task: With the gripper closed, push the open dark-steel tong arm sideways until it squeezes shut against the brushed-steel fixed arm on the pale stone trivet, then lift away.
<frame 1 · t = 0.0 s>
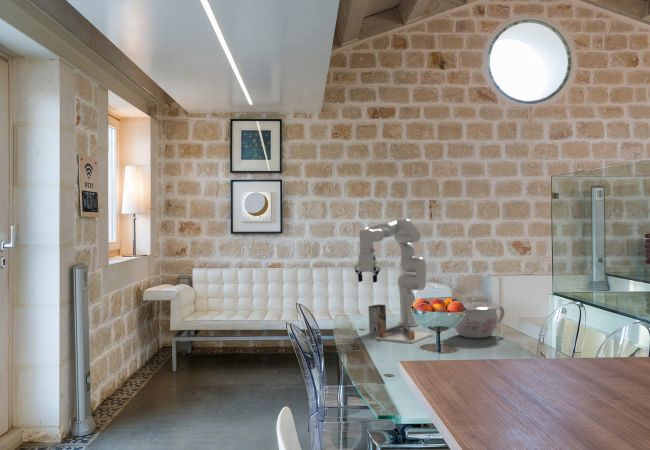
hand: (367, 281, 304), 31 cm above the table, fingers open, 9 cm apart
trivet: (404, 337, 302), on the table
tong base: (400, 333, 314), resting on trivet
chamber pot: (475, 336, 299), on the table
coffee box: (378, 333, 317), on the table
tong arm: (408, 331, 300), point 3 cm above the table, hinge at 40.0°
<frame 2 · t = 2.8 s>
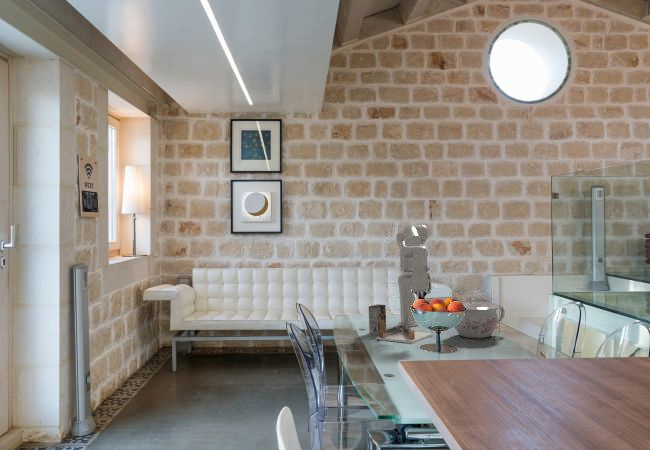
hand: (421, 304, 288), 20 cm above the table, fingers closed
nothing on the table moved.
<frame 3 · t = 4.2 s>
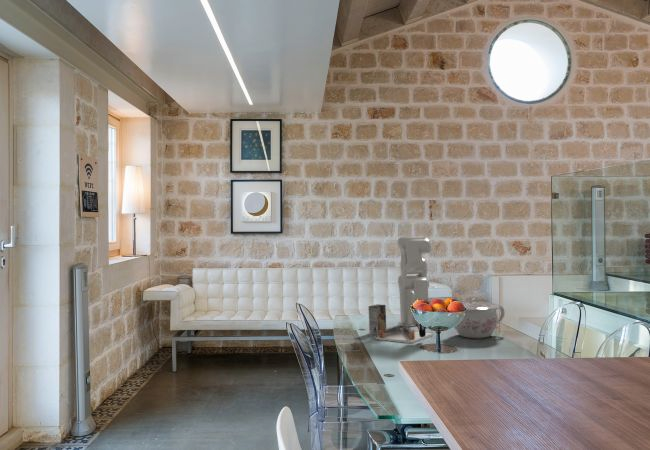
hand: (422, 336, 288), 3 cm above the table, fingers closed
nothing on the table moved.
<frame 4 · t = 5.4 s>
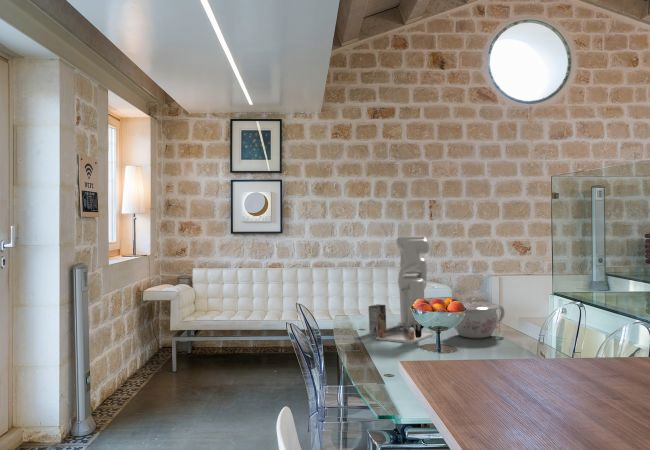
hand: (418, 337, 290), 2 cm above the table, fingers closed
tong arm: (408, 331, 300), point 3 cm above the table, hinge at 39.6°, touching gripper
everything else where it was.
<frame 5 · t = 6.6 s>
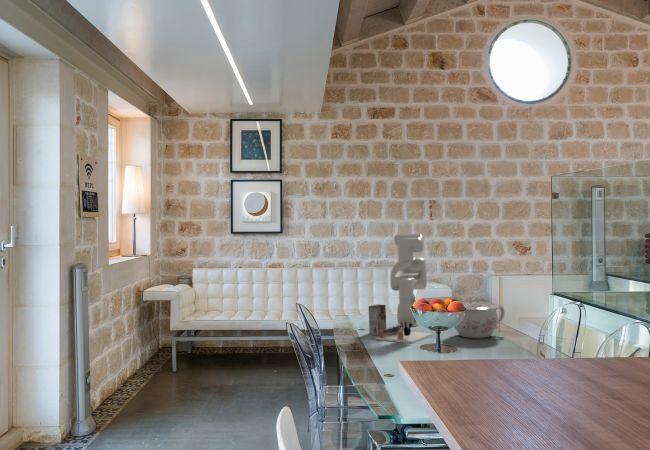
hand: (407, 335, 293), 3 cm above the table, fingers closed
tong arm: (402, 331, 301), point 3 cm above the table, hinge at 23.0°, touching gripper
everything else where it was.
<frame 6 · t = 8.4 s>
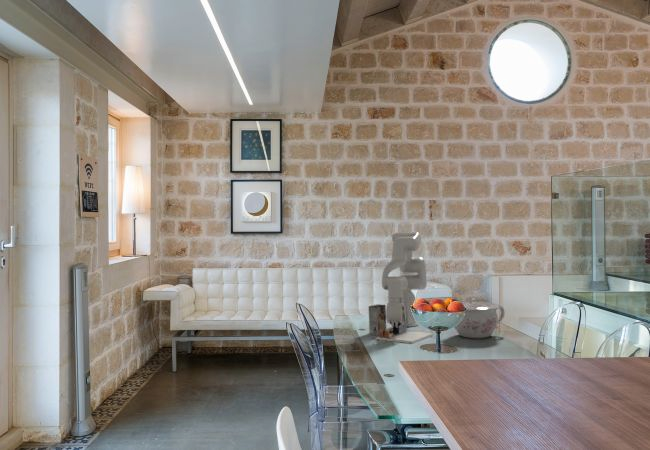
hand: (396, 334, 297), 3 cm above the table, fingers closed
tong arm: (395, 331, 302), point 3 cm above the table, hinge at 2.0°, touching gripper
everything else where it was.
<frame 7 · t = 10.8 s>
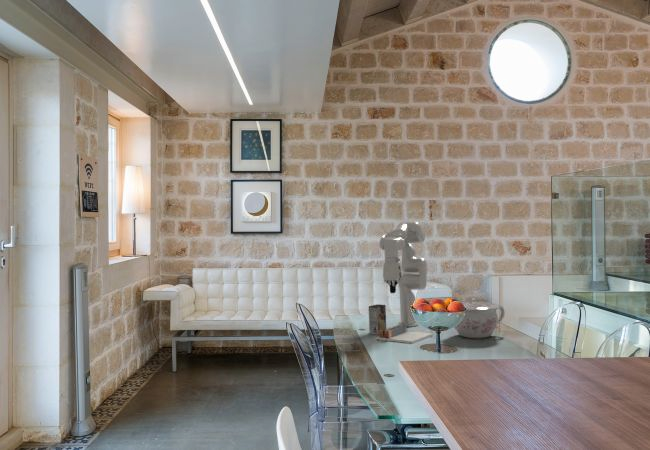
hand: (392, 292, 307), 24 cm above the table, fingers closed
tong arm: (395, 331, 302), point 3 cm above the table, hinge at 1.7°
everything else where it was.
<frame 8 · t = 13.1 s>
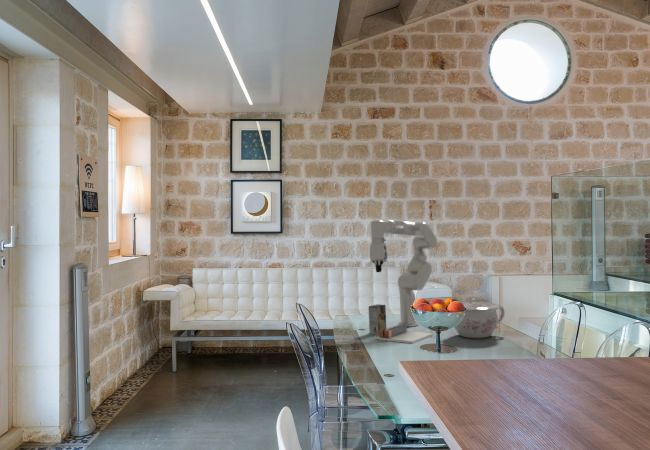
hand: (378, 271, 323), 35 cm above the table, fingers closed
nothing on the table moved.
at the end: tong arm at +2° (first picture: +40°); tong arm touching nothing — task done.
